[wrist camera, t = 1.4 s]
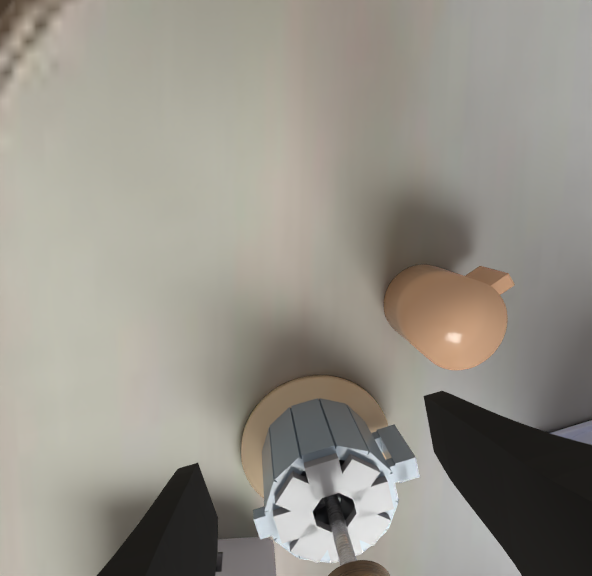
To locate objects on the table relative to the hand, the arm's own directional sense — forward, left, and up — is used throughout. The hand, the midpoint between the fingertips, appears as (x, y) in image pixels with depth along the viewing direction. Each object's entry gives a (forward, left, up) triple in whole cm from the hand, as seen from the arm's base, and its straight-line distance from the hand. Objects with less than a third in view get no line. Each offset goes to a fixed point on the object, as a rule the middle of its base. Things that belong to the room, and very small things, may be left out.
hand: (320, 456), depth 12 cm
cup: (-8, 0, -10) cm, 13 cm away
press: (0, +7, -10) cm, 13 cm away
